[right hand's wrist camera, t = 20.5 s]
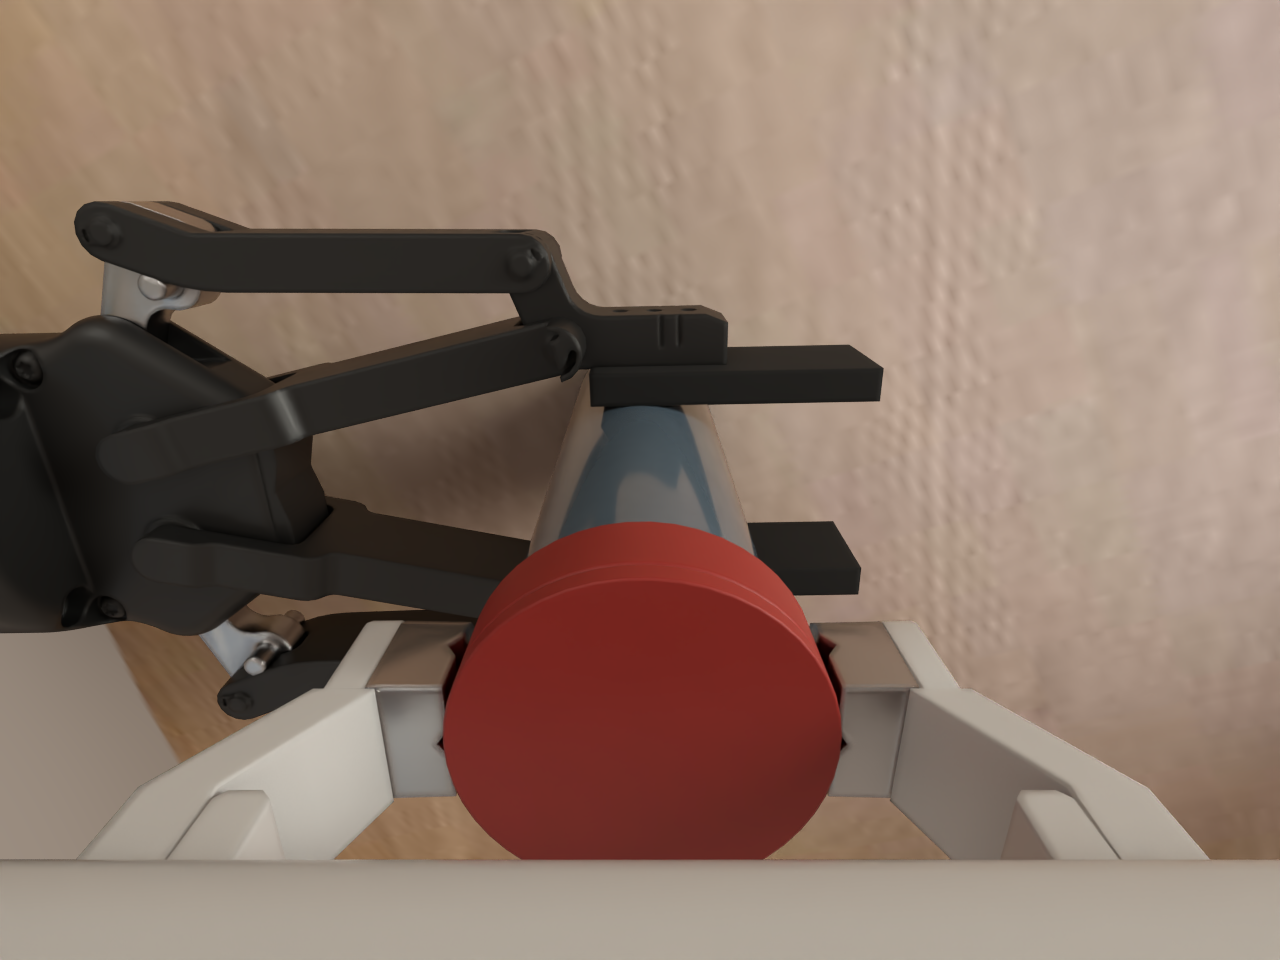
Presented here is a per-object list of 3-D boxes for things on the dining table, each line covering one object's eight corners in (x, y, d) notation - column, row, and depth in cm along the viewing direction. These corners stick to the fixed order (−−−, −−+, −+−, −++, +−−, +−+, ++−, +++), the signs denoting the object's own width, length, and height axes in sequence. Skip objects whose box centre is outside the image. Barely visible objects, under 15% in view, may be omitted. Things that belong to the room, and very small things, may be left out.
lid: (715, 841, 11) (726, 933, 10) (423, 739, 11) (389, 823, 9) (879, 603, 10) (921, 673, 8) (547, 460, 9) (530, 511, 7)
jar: (608, 321, 22) (554, 523, 8) (726, 374, 23) (859, 645, 9) (559, 436, 24) (442, 771, 10) (671, 483, 24) (712, 860, 10)
